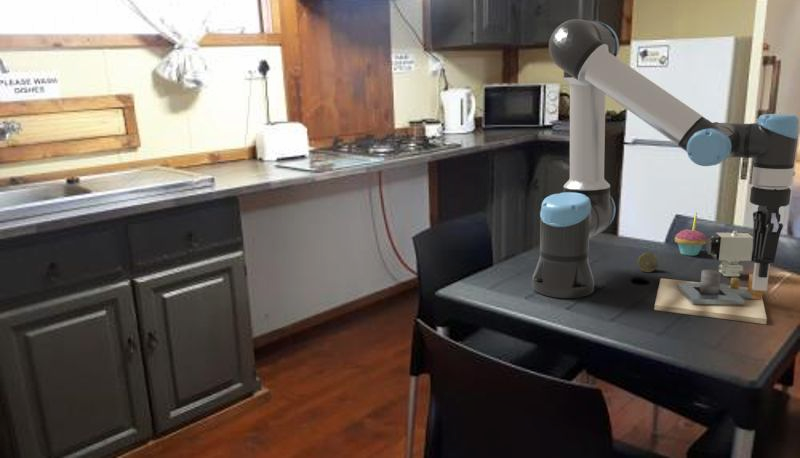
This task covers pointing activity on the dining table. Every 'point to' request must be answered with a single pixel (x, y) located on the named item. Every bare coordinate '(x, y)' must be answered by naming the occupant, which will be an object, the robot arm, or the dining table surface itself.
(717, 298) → the flange plate
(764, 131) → the robot arm
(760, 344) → the dining table surface
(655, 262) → the lime
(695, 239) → the cupcake
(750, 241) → the pneumatic valve
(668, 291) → the post board
